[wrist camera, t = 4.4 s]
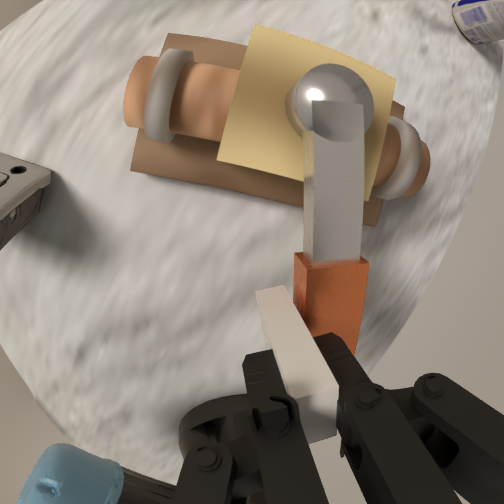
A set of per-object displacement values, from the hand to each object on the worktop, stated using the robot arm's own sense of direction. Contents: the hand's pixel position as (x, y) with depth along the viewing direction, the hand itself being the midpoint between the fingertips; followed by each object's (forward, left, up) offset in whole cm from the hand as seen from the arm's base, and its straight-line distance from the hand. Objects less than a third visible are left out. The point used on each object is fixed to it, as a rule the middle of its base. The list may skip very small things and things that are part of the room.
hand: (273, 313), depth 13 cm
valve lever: (+5, -1, 0) cm, 5 cm away
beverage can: (+31, -17, -10) cm, 37 cm away
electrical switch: (+1, +22, -10) cm, 24 cm away
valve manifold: (+9, +1, -9) cm, 13 cm away
